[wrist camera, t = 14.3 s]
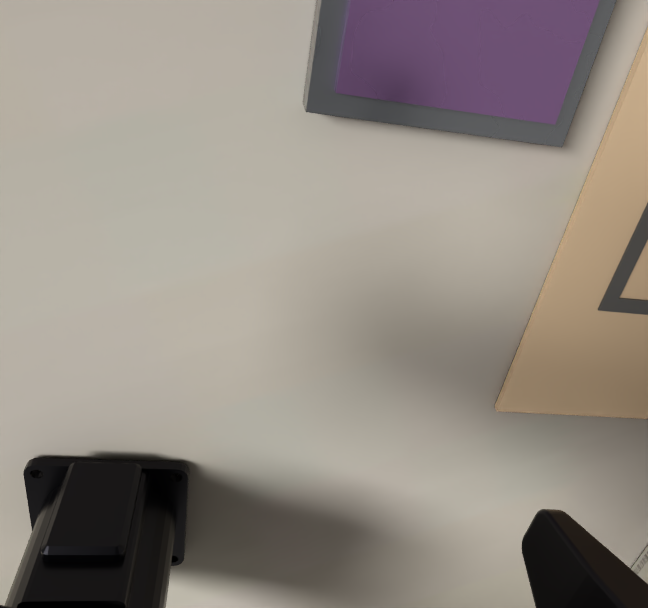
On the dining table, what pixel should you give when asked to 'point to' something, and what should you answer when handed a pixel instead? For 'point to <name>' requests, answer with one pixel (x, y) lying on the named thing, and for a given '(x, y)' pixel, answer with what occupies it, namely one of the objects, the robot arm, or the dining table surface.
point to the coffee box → (642, 566)
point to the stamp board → (596, 285)
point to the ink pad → (456, 63)
